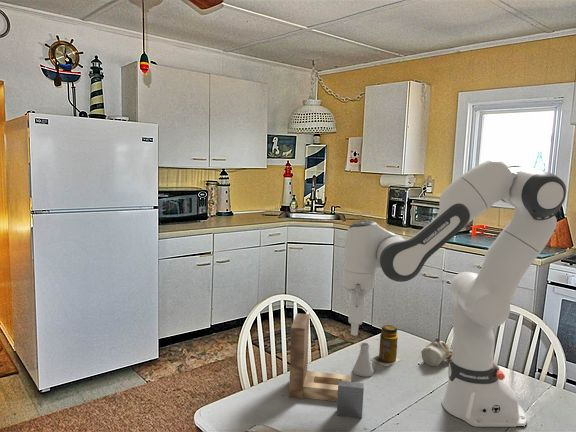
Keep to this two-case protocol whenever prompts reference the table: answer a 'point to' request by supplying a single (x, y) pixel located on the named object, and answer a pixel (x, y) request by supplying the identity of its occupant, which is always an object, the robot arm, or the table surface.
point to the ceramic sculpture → (436, 353)
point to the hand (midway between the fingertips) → (354, 327)
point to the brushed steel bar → (350, 399)
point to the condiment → (387, 346)
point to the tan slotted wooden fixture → (300, 378)
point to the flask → (363, 362)
